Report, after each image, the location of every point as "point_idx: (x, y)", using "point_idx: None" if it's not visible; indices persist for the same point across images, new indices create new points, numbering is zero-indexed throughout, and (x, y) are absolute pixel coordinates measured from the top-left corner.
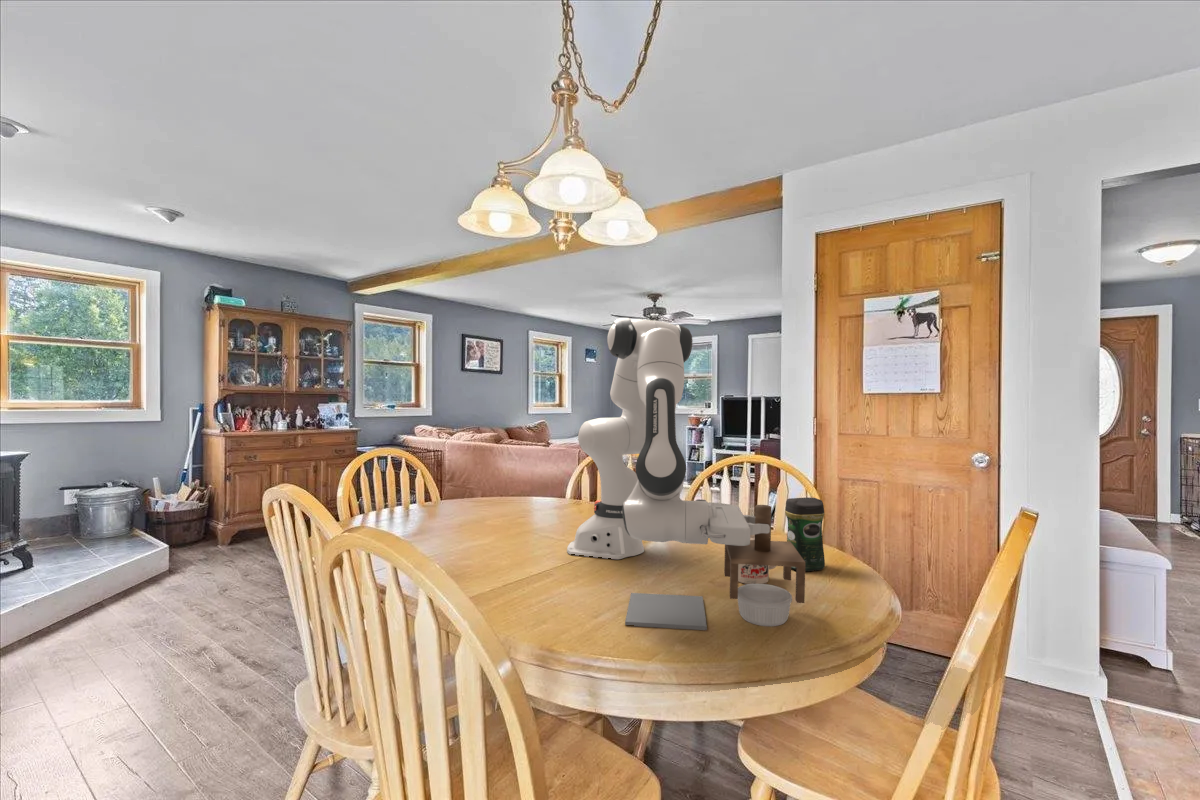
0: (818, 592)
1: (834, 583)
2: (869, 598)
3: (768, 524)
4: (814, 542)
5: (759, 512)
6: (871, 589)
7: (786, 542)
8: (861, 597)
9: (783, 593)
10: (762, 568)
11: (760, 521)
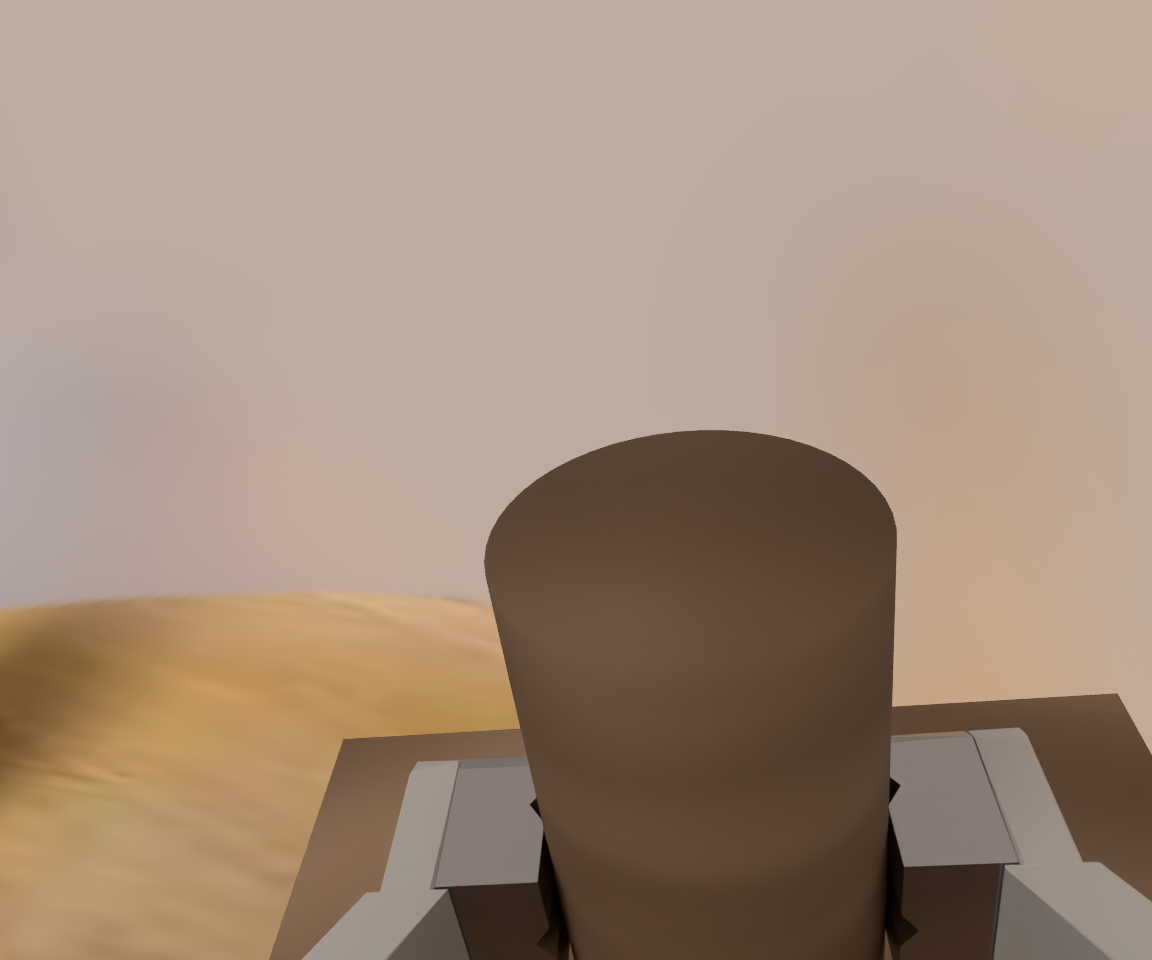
0: (253, 868)
1: (132, 760)
2: (383, 654)
3: (918, 734)
4: None
5: (876, 696)
6: (265, 628)
7: (371, 777)
8: (366, 681)
9: None
10: None
11: (885, 834)
